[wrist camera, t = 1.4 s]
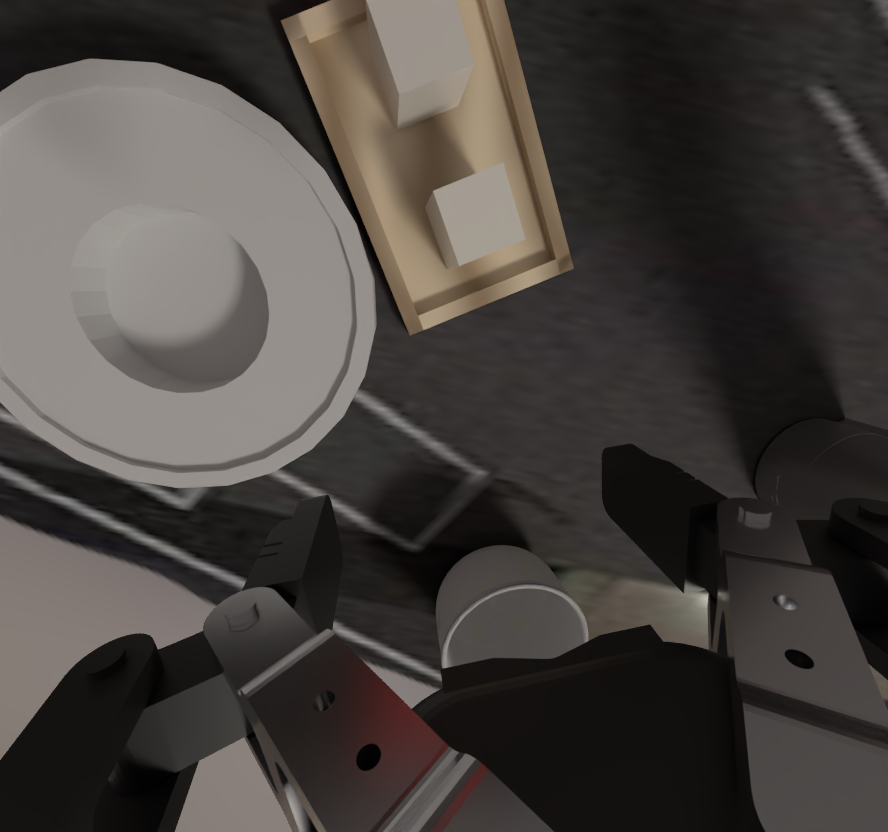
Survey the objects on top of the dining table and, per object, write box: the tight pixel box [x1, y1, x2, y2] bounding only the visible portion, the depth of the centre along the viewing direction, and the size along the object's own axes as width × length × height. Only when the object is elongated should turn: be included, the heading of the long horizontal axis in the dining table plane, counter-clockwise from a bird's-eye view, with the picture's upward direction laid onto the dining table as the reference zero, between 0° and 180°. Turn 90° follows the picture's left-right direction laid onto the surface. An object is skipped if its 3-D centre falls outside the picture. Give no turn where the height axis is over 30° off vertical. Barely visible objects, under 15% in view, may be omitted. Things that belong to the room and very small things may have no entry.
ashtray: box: [0, 59, 376, 488], centre depth 26 cm, size 23×23×4 cm
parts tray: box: [281, 0, 574, 335], centre depth 26 cm, size 12×18×1 cm, turn 21°
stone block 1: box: [365, 0, 474, 131], centre depth 22 cm, size 4×4×5 cm
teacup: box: [436, 545, 588, 669], centre depth 33 cm, size 14×11×8 cm
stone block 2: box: [425, 162, 525, 270], centre depth 25 cm, size 4×4×5 cm
